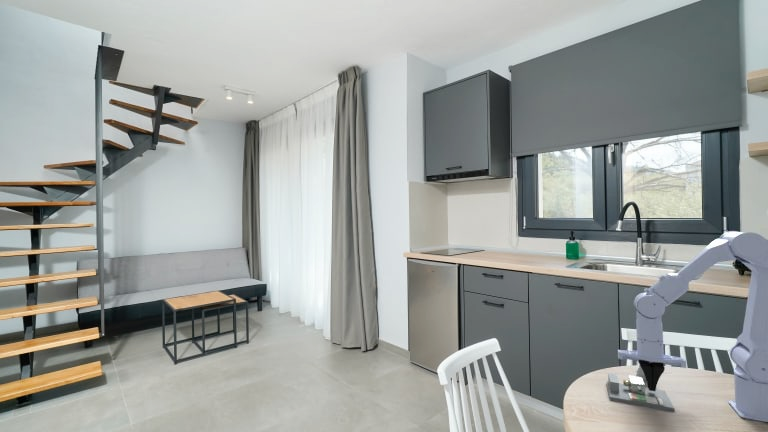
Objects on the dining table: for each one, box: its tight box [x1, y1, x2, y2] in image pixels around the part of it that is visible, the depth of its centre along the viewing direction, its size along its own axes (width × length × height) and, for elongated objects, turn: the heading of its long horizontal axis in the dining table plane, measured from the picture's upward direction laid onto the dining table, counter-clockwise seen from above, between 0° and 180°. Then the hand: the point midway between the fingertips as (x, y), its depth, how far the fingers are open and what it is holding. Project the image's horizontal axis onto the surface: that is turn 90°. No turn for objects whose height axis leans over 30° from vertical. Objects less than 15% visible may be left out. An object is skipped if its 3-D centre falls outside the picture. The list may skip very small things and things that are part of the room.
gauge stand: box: [606, 372, 676, 413], centre depth 94 cm, size 14×10×3 cm
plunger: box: [622, 375, 646, 394], centre depth 95 cm, size 4×8×2 cm, turn 152°
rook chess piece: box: [635, 362, 650, 382], centre depth 105 cm, size 4×4×8 cm
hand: (651, 389), depth 94 cm, fingers closed
